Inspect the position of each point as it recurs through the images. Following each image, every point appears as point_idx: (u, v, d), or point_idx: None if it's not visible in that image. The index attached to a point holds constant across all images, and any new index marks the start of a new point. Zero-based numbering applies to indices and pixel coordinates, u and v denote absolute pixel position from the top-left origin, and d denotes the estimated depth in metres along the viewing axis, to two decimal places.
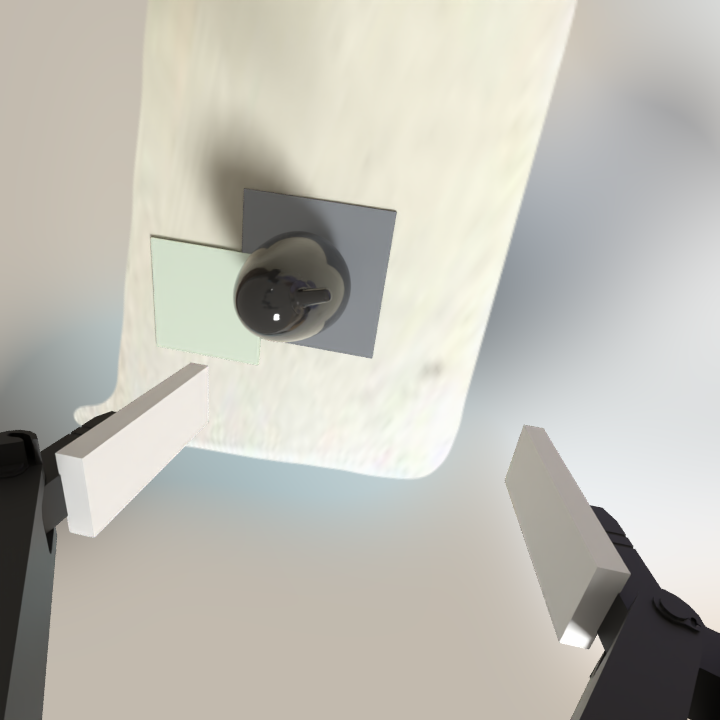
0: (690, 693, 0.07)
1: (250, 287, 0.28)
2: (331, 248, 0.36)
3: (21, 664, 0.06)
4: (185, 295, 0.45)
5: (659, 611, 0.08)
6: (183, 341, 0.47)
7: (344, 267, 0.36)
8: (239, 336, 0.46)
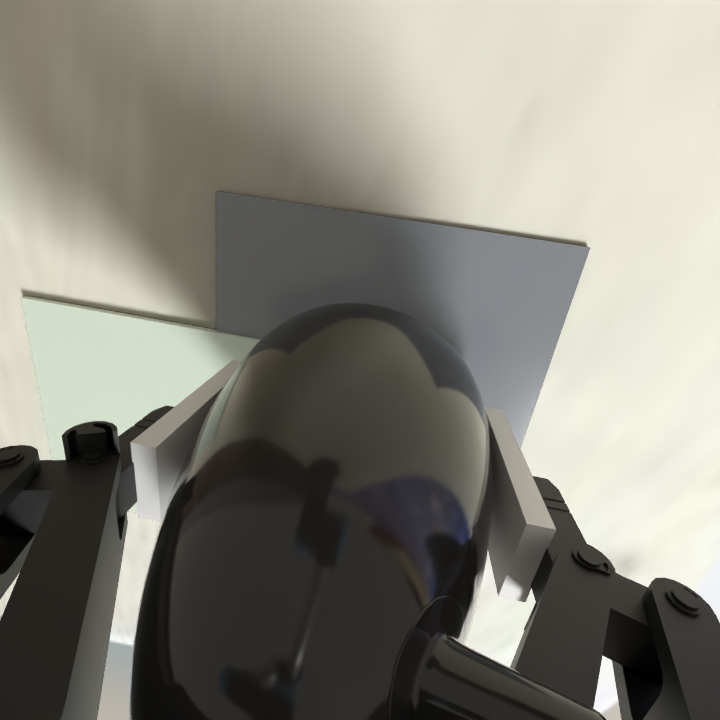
0: (604, 629, 0.08)
1: None
2: (452, 358, 0.13)
3: (85, 648, 0.07)
4: (103, 411, 0.22)
5: (578, 561, 0.09)
6: None
7: (483, 406, 0.13)
8: None
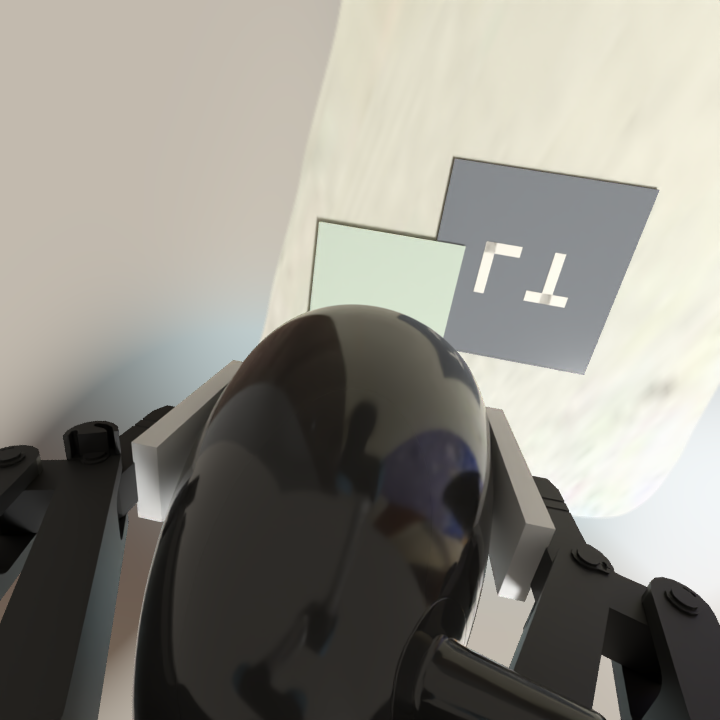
0: (603, 628, 0.08)
1: None
2: (453, 360, 0.13)
3: (86, 648, 0.07)
4: (353, 294, 0.36)
5: (576, 561, 0.09)
6: None
7: (484, 407, 0.13)
8: None
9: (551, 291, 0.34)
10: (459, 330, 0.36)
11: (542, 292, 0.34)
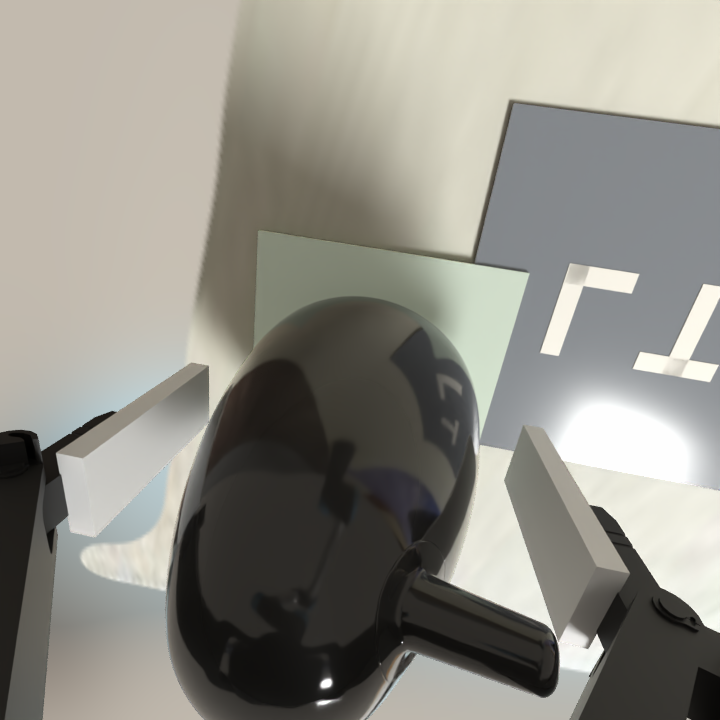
0: (689, 693, 0.07)
1: (217, 630, 0.07)
2: (444, 346, 0.14)
3: (22, 664, 0.06)
4: None
5: (658, 611, 0.08)
6: None
7: (473, 390, 0.14)
8: None
9: (687, 353, 0.18)
10: (511, 417, 0.21)
11: (670, 355, 0.18)
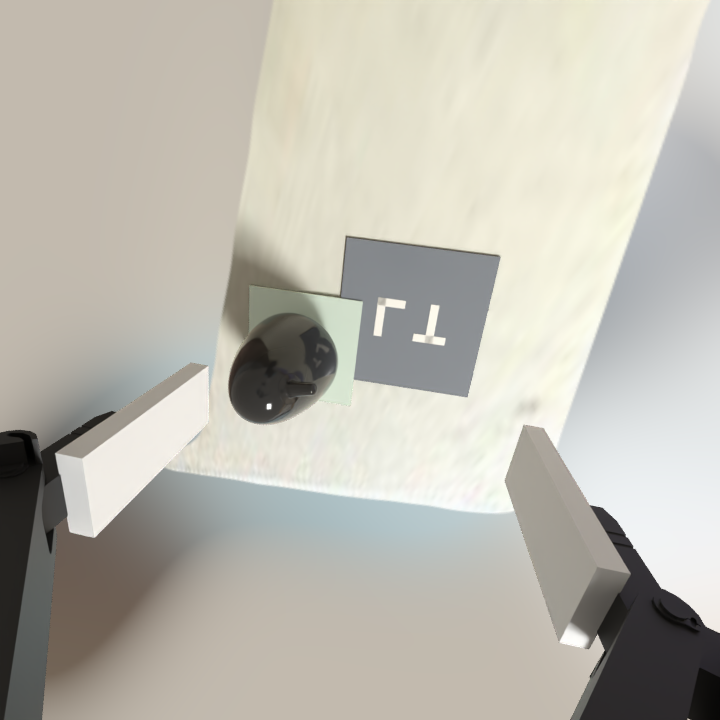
0: (690, 693, 0.07)
1: (243, 384, 0.31)
2: (318, 330, 0.39)
3: (21, 664, 0.06)
4: None
5: (659, 611, 0.08)
6: None
7: (330, 346, 0.39)
8: None
9: (432, 333, 0.43)
10: (366, 365, 0.45)
11: (425, 334, 0.43)
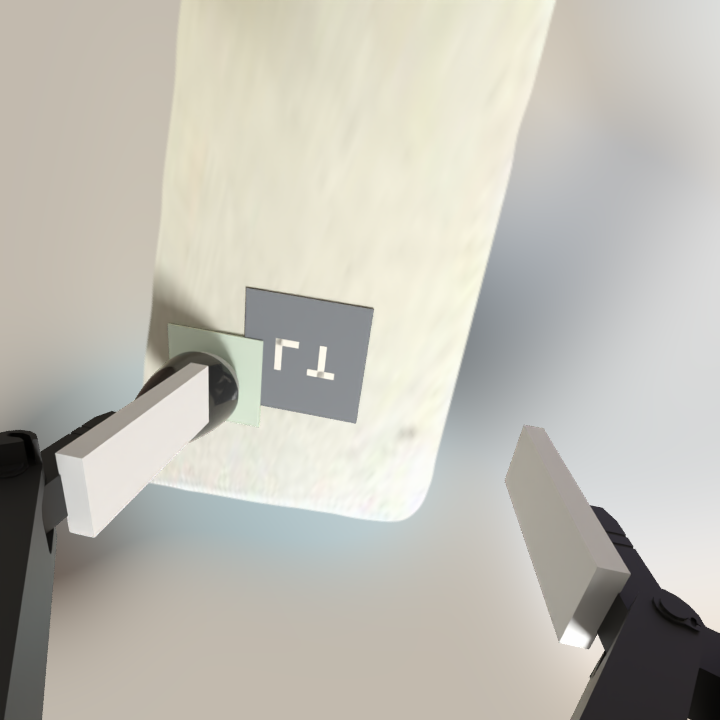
0: (690, 693, 0.07)
1: None
2: (216, 368, 0.46)
3: (21, 664, 0.06)
4: None
5: (659, 611, 0.08)
6: None
7: (228, 381, 0.47)
8: (242, 403, 0.53)
9: (323, 369, 0.50)
10: (270, 394, 0.52)
11: (317, 370, 0.50)
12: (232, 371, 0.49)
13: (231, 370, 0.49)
